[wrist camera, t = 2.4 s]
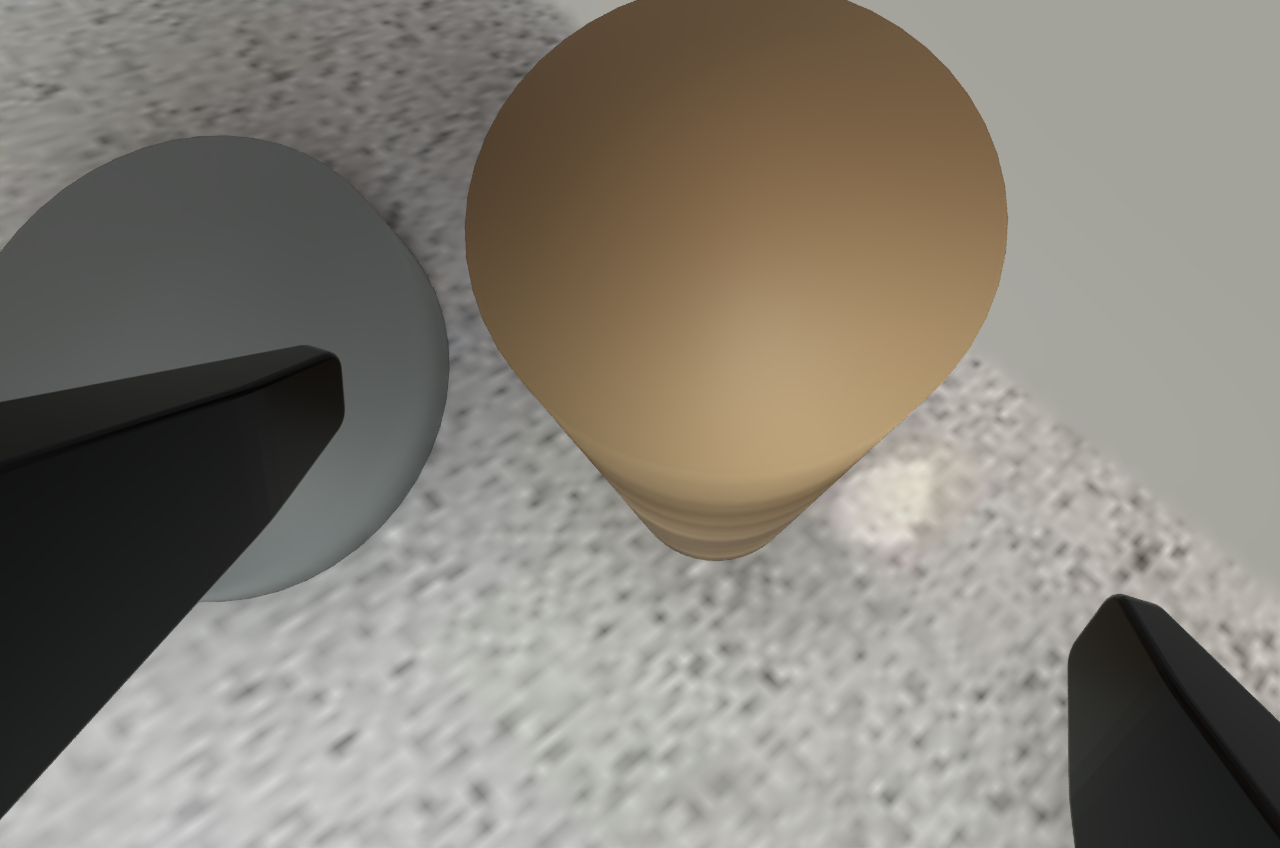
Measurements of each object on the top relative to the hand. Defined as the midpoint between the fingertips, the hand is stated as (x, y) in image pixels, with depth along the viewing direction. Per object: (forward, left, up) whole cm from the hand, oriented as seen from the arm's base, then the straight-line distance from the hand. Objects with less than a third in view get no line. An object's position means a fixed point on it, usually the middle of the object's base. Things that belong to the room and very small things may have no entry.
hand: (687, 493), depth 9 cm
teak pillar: (+2, -1, -9) cm, 9 cm away
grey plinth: (+5, +11, -9) cm, 15 cm away
